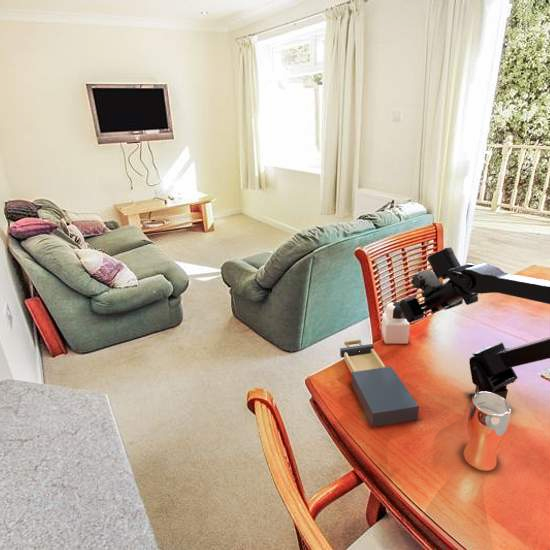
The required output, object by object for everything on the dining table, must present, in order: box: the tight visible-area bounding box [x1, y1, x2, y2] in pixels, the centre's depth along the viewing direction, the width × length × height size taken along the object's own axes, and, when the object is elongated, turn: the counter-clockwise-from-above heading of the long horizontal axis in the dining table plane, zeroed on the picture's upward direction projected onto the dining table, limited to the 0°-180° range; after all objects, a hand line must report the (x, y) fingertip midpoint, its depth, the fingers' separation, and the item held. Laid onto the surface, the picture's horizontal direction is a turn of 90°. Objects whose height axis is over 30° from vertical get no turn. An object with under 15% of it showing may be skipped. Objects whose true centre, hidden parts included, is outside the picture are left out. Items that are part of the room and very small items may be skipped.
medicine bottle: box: [381, 301, 411, 345], centre depth 118 cm, size 7×7×12 cm
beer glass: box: [463, 392, 512, 472], centre depth 75 cm, size 7×7×15 cm
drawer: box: [339, 339, 386, 375], centre depth 108 cm, size 18×10×3 cm, turn 8°
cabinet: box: [350, 366, 420, 428], centre depth 94 cm, size 15×11×4 cm
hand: (413, 312), depth 109 cm, fingers open, 9 cm apart
